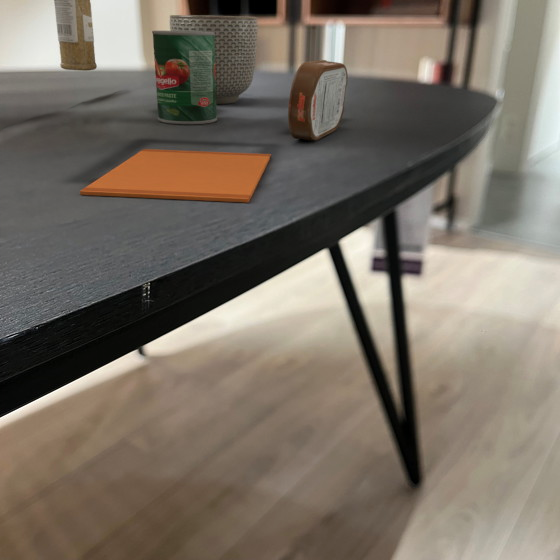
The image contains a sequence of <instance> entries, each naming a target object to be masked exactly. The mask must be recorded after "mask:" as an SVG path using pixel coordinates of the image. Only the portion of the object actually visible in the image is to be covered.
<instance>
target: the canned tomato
mask: <svg viewBox="0 0 560 560" xmlns="http://www.w3.org/2000/svg"><path fill="white" fill-rule="evenodd" d="M151 34H152V45H153V57H154V59H153V60H154V74H155V87H156V88H155V89H156V102H157V103H156V105H157V113H158V114H157V120H158V122H160V123H163V124H164V123H165V124H169V125H170V124H171V125H188V126H189V125H204V124H205V125H207V124H212V123H216V122H217V120H218V117H217V116H218V115H217V104H216V78H215V75H216V73H215V43H214V35H215V33H214V32H200V31H170V30H151Z"/></svg>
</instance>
